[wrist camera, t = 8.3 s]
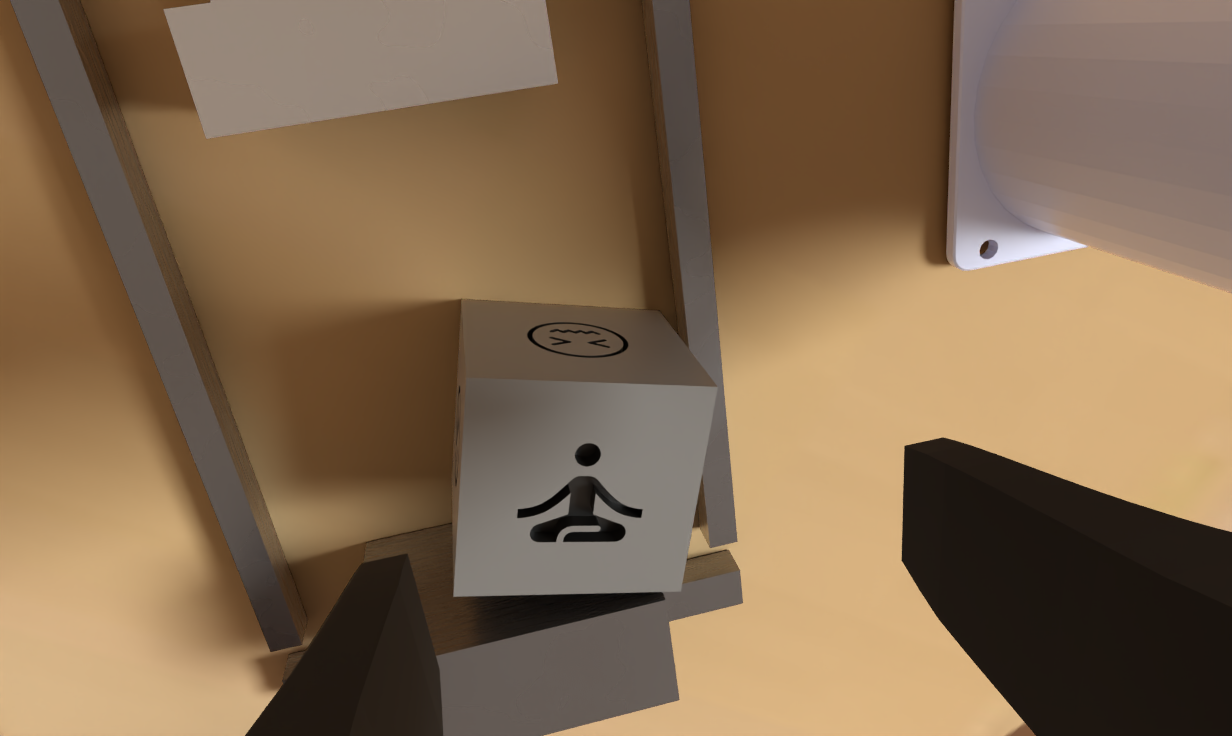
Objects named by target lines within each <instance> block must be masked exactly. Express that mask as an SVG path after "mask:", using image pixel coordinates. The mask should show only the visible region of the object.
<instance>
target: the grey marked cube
mask: <svg viewBox="0 0 1232 736" xmlns="http://www.w3.org/2000/svg"><path fill="white" fill-rule="evenodd" d="M717 389H718V386H717V385H716V384H715V382H714V381H713V380H712V379H711V377H710V376H709V375H708V373H707V372H706V371H705V369H704V368H703V367H702V366H701V364H700V363H699V362H698V360H697V359H696V358H695V356H694V355H693V354H692V353H691V351H690V350H689V349H688V347H687V346H686V345H685V343H684V342H683V341H682V340H681V338H680V337H679V336H678V334H677V333H676V332H675V330H674V329H673V328H672V326H671V325H670V324H669V323H668V321H667V320H666V319H665V317H664V316H663V315H662V313H661V312H660V311H659V310H643V309H625V308H608V307H591V306H574V305H556V304H539V303H522V302H504V301H487V300H470V299H461V315H460V334H459V352H458V371H457V390H456V408H455V427H454V445H453V464H452V535H453V597H462V596H506V595H550V594H594V593H637V592H681V588H682V582H683V577H684V571H685V566H686V560H687V555H688V549H689V544H690V538H691V533H692V527H693V522H694V516H695V511H696V505H697V500H698V494H699V489H700V483H701V478H702V472H703V467H704V461H705V455H706V450H707V444H708V439H709V433H710V428H711V422H712V417H713V411H714V406H715V400H716V395H717Z"/></svg>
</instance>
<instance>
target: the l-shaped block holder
mask: <svg viewBox="0 0 1232 736" xmlns="http://www.w3.org/2000/svg"><path fill="white" fill-rule="evenodd" d="M210 2H211V3H204V4H197V5H190V6H182V7H175V8H168V9H163V10H164V13H165V16H166V19H167V22H168V25H169V28H170V31H171V34H172V37H173V40H174V43H175V46H176V49H177V52H178V55H179V58H180V61H181V64H182V67H183V70H184V73H185V76H186V79H187V82H188V85H189V88H190V91H191V95H192V98H193V101H194V104H195V107H196V110H197V113H198V116H199V119H200V122H201V125H202V128H203V131H204V134H205V137H206V139H209V138H215V137H222V136H228V135H234V134H241V133H247V132H253V131H260V130H266V129H272V128H279V127H285V126H291V125H298V124H304V123H310V122H317V121H323V120H330V119H336V118H342V117H349V116H355V115H361V114H368V113H374V112H380V111H387V110H393V109H399V108H406V107H412V106H418V105H425V104H431V103H437V102H444V101H450V100H457V99H463V98H469V97H476V96H482V95H488V94H495V93H501V92H507V91H514V90H520V89H526V88H533V87H539V86H545V85H552V84H558V78H557V72H556V65H555V59H554V52H553V46H552V40H551V33H550V27H549V20H548V14H547V7H546V1H545V0H210Z"/></svg>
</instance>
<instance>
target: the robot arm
mask: <svg viewBox="0 0 1232 736" xmlns="http://www.w3.org/2000/svg"><path fill="white" fill-rule="evenodd" d="M987 240H988V242H989V245H988V249H987V250H986V251H985V253H983V254H981V255H980V252H979V251H980V248H981V245H982V244H983V243H984V242H985V241H987ZM1085 247H1092V248H1095V249H1098V250H1101V251H1104V252H1107V253H1110V254H1113V255H1117V256H1120V257H1123V258H1126V259H1129V260H1132V261H1135V262H1138V263H1141V264H1144V265H1147V266H1150V267H1153V268H1156V269H1159V270H1162V271H1165V272H1168V273H1171V274H1174V275H1177V276H1180V277H1184V278H1187V279H1190V280H1193V281H1196V282H1199V283H1202V284H1205V285H1208V286H1211V287H1214V288H1217V289H1220V290H1223V291H1226V292H1229V293H1232V0H955V2H954V32H953V62H952V93H951V123H950V154H949V184H948V215H947V245H946V255H947V260H948V261H949V263H950V264H951V265H952V266H954V267H956V268H958V269H961V270H963V271H970V270H975V269H980V268H985V267H990V266H995V265H1000V264H1005V263H1010V262H1015V261H1020V260H1025V259H1030V258H1035V257H1040V256H1045V255H1050V254H1055V253H1060V252H1065V251H1070V250H1075V249H1080V248H1085ZM902 562H903V563H904V565H905V567H906V568H907V570H908V572H909V573H910V575H911V577H912V578H913V580H914V582H915V583H916V585H917V586H918V588H919V590H920V591H921V593H922V595H923V596H924V598H925V599H926V601H927V602H928V604H929V605H930V607H931V608H932V610H933V611H934V613H935V614H936V616H937V617H938V619H939V620H940V621H941V622H942V624H943V625H944V626H945V627H946V629H947V630H948V631H949V632H950V634H951V635H952V636H953V637H954V638H955V640H956V641H957V642H958V643H959V645H960V646H961V647H962V648H963V649H964V651H965V652H966V653H967V654H968V655H969V657H970V658H971V659H972V660H973V661H974V663H975V664H976V665H977V666H978V667H979V669H980V670H981V671H982V672H983V673H984V674H985V676H986V677H987V678H988V679H989V680H990V682H991V683H992V684H993V685H994V686H995V688H996V689H997V690H998V691H999V692H1000V693H1001V695H1002V696H1003V697H1004V698H1005V699H1006V701H1007V702H1008V703H1009V704H1010V705H1011V706H1012V708H1013V709H1014V710H1015V711H1016V712H1017V714H1018V715H1019V716H1020V717H1021V718H1022V720H1023V721H1024V722H1025V723H1026V724H1027V725H1028V727H1029V728H1030V729H1031V730H1032V731H1033V733H1034V734H1035V735H1036V736H1232V532H1229V531H1225V530H1221V529H1217V528H1213V527H1210V526H1206V525H1203V524H1199V523H1196V522H1192V521H1189V520H1185V519H1182V518H1178V517H1175V516H1172V515H1169V514H1166V513H1163V512H1159V511H1156V510H1153V509H1150V508H1147V507H1144V506H1140V505H1137V504H1134V503H1131V502H1128V501H1125V500H1122V499H1119V498H1116V497H1113V496H1110V495H1107V494H1104V493H1101V492H1098V491H1096V490H1093V489H1090V488H1087V487H1084V486H1081V485H1079V484H1076V483H1073V482H1070V481H1067V480H1065V479H1062V478H1059V477H1056V476H1054V475H1051V474H1048V473H1046V472H1043V471H1040V470H1037V469H1035V468H1032V467H1029V466H1027V465H1024V464H1021V463H1018V462H1016V461H1013V460H1010V459H1008V458H1005V457H1002V456H999V455H997V454H994V453H991V452H988V451H985V450H982V449H980V448H977V447H974V446H971V445H968V444H964V443H961V442H958V441H954V440H951V439H947V438H939V439H934V440H930V441H925V442H920V443H916V444H911V445H906V446H905V451H904V491H903V531H902ZM245 736H443V717H442V699H441V683H440V669H439V665H438V662H437V658H436V654H435V651H434V647H433V643H432V640H431V636H430V633H429V629H428V625H427V622H426V618H425V614H424V611H423V607H422V604H421V600H420V596H419V593H418V589H417V586H416V582H415V578H414V575H413V571H412V567H411V564H410V560H409V557H408V553H407V554H402V555H397V556H393V557H388V558H383V559H379V560H374V561H370V562H365V563H362V564H361V565H360V566H359V568H358V569H357V570H356V572H355V573H354V575H353V577H352V578H351V580H350V581H349V583H348V585H347V586H346V588H345V589H344V591H343V593H342V594H341V596H340V598H339V599H338V601H337V602H336V604H335V606H334V607H333V609H332V611H331V612H330V614H329V615H328V617H327V619H326V620H325V622H324V623H323V625H322V626H321V628H320V630H319V631H318V633H317V634H316V636H315V638H314V639H313V641H312V642H311V643H310V645H309V646H308V648H307V649H306V651H305V652H304V654H303V655H302V657H301V658H300V660H299V661H298V663H297V664H296V666H295V667H294V669H293V670H292V672H291V673H290V675H289V676H288V678H287V679H286V681H285V682H284V684H283V685H282V686H281V688H280V689H279V691H278V692H277V693H276V695H275V696H274V697H273V699H272V700H271V701H270V703H269V704H268V706H267V707H266V708H265V710H264V711H263V712H262V714H261V715H260V716H259V718H258V719H257V720H256V722H255V723H254V724H253V726H252V727H251V728H250V730H249V731H248V732H247V734H246V735H245Z"/></svg>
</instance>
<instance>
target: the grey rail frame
mask: <svg viewBox="0 0 1232 736" xmlns="http://www.w3.org/2000/svg"><path fill="white" fill-rule="evenodd" d="M10 1H11V4H12V6H13V9H14V11H15V14H16V16H17V19H18V21H19V24H20V26H21V29H22V31H23V34H24V36H25V39H26V41H27V44H28V46H29V49H30V51H31V54H32V56H33V59H34V61H35V64H36V66H37V69H38V71H39V74H40V76H41V79H42V81H43V84H44V86H45V89H46V91H47V94H48V96H49V99H50V101H51V104H52V106H53V109H54V111H55V114H56V116H57V119H58V121H59V124H60V126H61V129H62V131H63V134H64V136H65V139H66V141H67V144H68V146H69V149H70V151H71V154H72V156H73V159H74V161H75V164H76V166H77V169H78V171H79V174H80V176H81V179H82V181H83V184H84V186H85V189H86V191H87V194H88V196H89V199H90V201H91V204H92V206H93V209H94V211H95V214H96V216H97V219H98V221H99V224H100V226H101V229H102V231H103V234H104V236H105V239H106V241H107V244H108V246H109V249H110V251H111V254H112V256H113V259H114V261H115V264H116V266H117V269H118V271H119V274H120V276H121V279H122V281H123V284H124V286H125V289H126V291H127V294H128V296H129V299H130V301H131V304H132V306H133V309H134V311H135V314H136V316H137V319H138V321H139V324H140V326H141V329H142V331H143V334H144V336H145V339H146V341H147V344H148V346H149V349H150V351H151V354H152V356H153V359H154V361H155V364H156V366H157V369H158V371H159V374H160V376H161V379H162V381H163V384H164V386H165V389H166V391H167V394H168V396H169V399H170V401H171V404H172V406H173V409H174V411H175V414H176V416H177V419H178V421H179V424H180V426H181V429H182V431H183V434H184V436H185V439H186V441H187V444H188V446H189V449H190V451H191V454H192V456H193V459H194V461H195V464H196V466H197V469H198V471H199V474H200V476H201V479H202V481H203V484H204V486H205V489H206V491H207V494H208V496H209V499H210V501H211V504H212V506H213V509H214V511H215V514H216V516H217V519H218V521H219V524H220V526H221V529H222V531H223V534H224V536H225V539H226V541H227V544H228V546H229V549H230V551H231V554H232V556H233V559H234V561H235V564H236V566H237V569H238V571H239V574H240V576H241V579H242V581H243V584H244V586H245V589H246V591H247V594H248V596H249V599H250V601H251V604H252V606H253V609H254V611H255V614H256V616H257V619H258V621H259V624H260V626H261V629H262V631H263V634H264V636H265V639H266V641H267V644H268V646H269V649H270V651H271V652H273V651H277V650H281V649H286V648H290V647H294V646H298V645H302V642H303V638H304V634H305V629H306V625H307V621H308V619H307V616H306V613H305V611H304V608H303V605H302V602H301V600H300V597H299V594H298V592H297V589H296V586H295V583H294V581H293V578H292V575H291V573H290V570H289V567H288V564H287V562H286V559H285V556H284V554H283V551H282V548H281V545H280V543H279V540H278V537H277V535H276V532H275V529H274V526H273V524H272V521H271V518H270V516H269V513H268V510H267V507H266V505H265V502H264V499H263V496H262V494H261V491H260V488H259V486H258V483H257V480H256V477H255V475H254V472H253V469H252V467H251V464H250V461H249V458H248V456H247V453H246V450H245V448H244V445H243V442H242V439H241V437H240V434H239V431H238V429H237V426H236V423H235V420H234V418H233V415H232V412H231V410H230V407H229V404H228V401H227V399H226V396H225V393H224V391H223V388H222V385H221V382H220V380H219V377H218V374H217V371H216V369H215V366H214V363H213V361H212V358H211V355H210V352H209V350H208V347H207V344H206V342H205V339H204V336H203V333H202V331H201V328H200V325H199V323H198V320H197V317H196V314H195V312H194V309H193V306H192V304H191V301H190V298H189V295H188V293H187V290H186V287H185V285H184V282H183V279H182V276H181V274H180V271H179V268H178V266H177V263H176V260H175V257H174V255H173V252H172V249H171V246H170V244H169V241H168V238H167V236H166V233H165V230H164V227H163V225H162V222H161V219H160V217H159V214H158V211H157V208H156V206H155V203H154V200H153V198H152V195H151V192H150V189H149V187H148V184H147V181H146V179H145V176H144V173H143V170H142V168H141V165H140V162H139V160H138V157H137V154H136V151H135V149H134V146H133V143H132V141H131V138H130V135H129V132H128V130H127V127H126V124H125V121H124V119H123V116H122V113H121V111H120V108H119V105H118V102H117V100H116V97H115V94H114V92H113V89H112V86H111V83H110V81H109V78H108V75H107V73H106V70H105V67H104V64H103V62H102V59H101V56H100V54H99V51H98V48H97V45H96V43H95V40H94V37H93V35H92V32H91V29H90V26H89V24H88V21H87V18H86V16H85V13H84V10H83V7H82V5H81V2H80V0H10ZM642 9H643V19H644V28H645V37H646V46H647V55H648V64H649V73H650V82H651V91H652V100H653V109H654V118H655V127H656V136H657V145H658V154H659V163H660V172H661V181H662V190H663V199H664V208H665V217H666V226H667V235H668V244H669V254H670V263H671V272H672V281H673V290H674V299H675V308H676V317H677V326H678V335H679V337H680V338H681V340H682V341H683V342H684V343H685V345H686V346H687V347H688V349H689V350H690V351H691V353H692V354H693V355H694V356H695V358H696V359H697V360H698V362H699V363H700V364H701V366H702V367H703V368H704V369H705V371H706V372H707V373H708V375H709V376H710V377H711V379H712V380H713V381H714V382H715V384H716V385H717V386H718V389H717V395H716V400H715V406H714V411H713V417H712V422H711V428H710V433H709V439H708V444H707V450H706V455H705V461H704V467H703V472H702V478H701V483H700V489H699V494H698V500H697V507H698V516H699V525H700V529H701V531H702V533H703V535H704V537H705V539H706V541H707V543H708V545H709V547H710V548H712V547H717V546H721V545H725V544H729V543H734V542H737V532H736V520H735V509H734V498H733V486H732V475H731V464H730V453H729V441H728V430H727V419H726V408H725V396H724V385H723V374H722V362H721V351H720V340H719V329H718V317H717V306H716V295H715V284H714V272H713V261H712V250H711V238H710V227H709V216H708V205H707V193H706V182H705V171H704V159H703V148H702V137H701V126H700V114H699V103H698V92H697V81H696V69H695V58H694V47H693V35H692V24H691V13H690V2H689V0H642ZM407 553H408V557H409V560H410V564H411V567H412V571H413V575H414V578H415V582H416V586H417V589H418V593H419V596H420V600H421V604H422V607H423V611H424V614H425V618H426V622H427V625H428V629H429V633H430V636H431V640H432V643H433V647H434V651H435V654H436V658H437V662H438V665H439V669H440V683H441V699H442V717H443V736H543V735H547V734H551V733H555V732H558V731H562V730H566V729H570V728H574V727H578V726H581V725H585V724H589V723H593V722H597V721H601V720H605V719H608V718H612V717H616V716H620V715H624V714H628V713H632V712H635V711H639V710H643V709H647V708H651V707H655V706H658V705H662V704H666V703H670V702H674V701H678V700H679V693H678V686H677V679H676V671H675V664H674V657H673V650H672V642H671V635H670V628H669V621H673V620H677V619H681V618H685V617H689V616H693V615H697V614H701V613H705V612H709V611H713V610H718V609H722V608H726V607H730V606H734V605H738V604H742V603H743V599H742V588H741V577H740V569H739V568H738V566H737V564H736V562H735V560H734V559H733V557H732V555H731V553H730V551H729V550H727V551H722V552H718V553H714V554H710V555H706V556H701V557H697V558H693V559H689V560H686V566H685V571H684V577H683V582H682V588H681V592H637V593H594V594H550V595H506V596H462V597H453V535H452V524H447V525H443V526H438V527H434V528H429V529H425V530H420V531H416V532H411V533H407V534H402V535H398V536H394V537H389V538H385V539H380V540H376V541H371V542H367V543H366V549H365V555H364V562H363V563H365V562H370V561H374V560H379V559H383V558H388V557H393V556H397V555H402V554H407ZM304 652H305V651H302V652H297V653H293V654H289V656H288V660H287V664H286V668H285V672H284V676H283V680H282V681H283V684H284V682H285V681H286V679H287V678H288V676H289V675H290V673H291V672H292V670H293V669H294V667H295V666H296V664H297V663H298V661H299V660H300V658H301V657H302V655H303V654H304Z"/></svg>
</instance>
